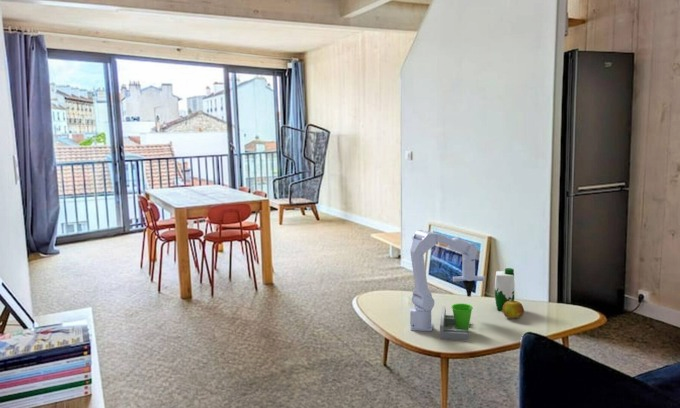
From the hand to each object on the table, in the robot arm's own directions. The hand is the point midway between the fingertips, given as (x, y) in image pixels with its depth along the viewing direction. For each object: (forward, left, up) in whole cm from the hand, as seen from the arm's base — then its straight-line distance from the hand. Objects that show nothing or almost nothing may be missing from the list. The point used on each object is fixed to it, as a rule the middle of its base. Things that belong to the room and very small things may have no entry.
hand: (468, 295), depth 232 cm
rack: (-6, -17, -10) cm, 21 cm away
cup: (-3, -17, -11) cm, 20 cm away
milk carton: (+17, +14, -11) cm, 24 cm away
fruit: (+20, +2, -11) cm, 23 cm away
